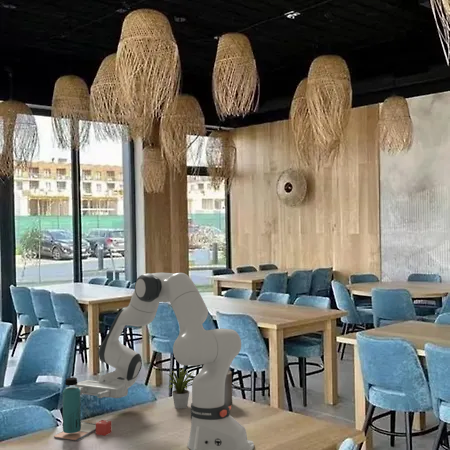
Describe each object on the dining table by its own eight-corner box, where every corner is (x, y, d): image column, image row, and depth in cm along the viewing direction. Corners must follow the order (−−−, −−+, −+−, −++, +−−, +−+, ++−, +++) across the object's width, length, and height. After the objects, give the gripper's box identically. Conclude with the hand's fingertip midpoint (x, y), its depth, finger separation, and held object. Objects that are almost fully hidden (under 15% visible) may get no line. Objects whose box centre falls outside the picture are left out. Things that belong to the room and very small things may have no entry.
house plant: (177, 415, 233) (177, 374, 233) (155, 408, 242) (155, 368, 243) (203, 407, 243) (203, 367, 243) (181, 400, 253) (181, 362, 253)
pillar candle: (222, 399, 254) (221, 364, 254) (237, 405, 246) (236, 369, 246) (204, 404, 248) (203, 368, 248) (218, 409, 240) (218, 373, 240)
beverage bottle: (76, 438, 206) (76, 380, 206) (58, 437, 208) (58, 380, 208) (84, 431, 213) (84, 376, 213) (67, 430, 214) (67, 375, 214)
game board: (103, 426, 220) (103, 424, 220) (76, 441, 205) (76, 439, 205) (81, 423, 224) (81, 421, 224) (52, 438, 208) (52, 436, 208)
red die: (111, 432, 214) (111, 420, 214) (105, 435, 211) (105, 424, 211) (102, 430, 216) (102, 419, 216) (95, 434, 212) (95, 422, 212)
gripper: (86, 374, 237) (65, 383, 224) (131, 379, 229) (111, 388, 216) (86, 390, 237) (65, 399, 224) (131, 395, 229) (111, 406, 216)
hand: (88, 394), depth 220 cm, fingers open, 8 cm apart
